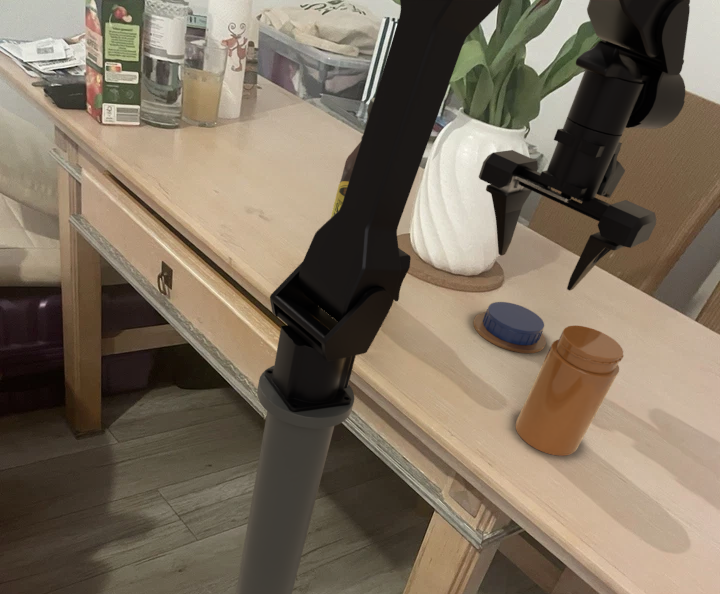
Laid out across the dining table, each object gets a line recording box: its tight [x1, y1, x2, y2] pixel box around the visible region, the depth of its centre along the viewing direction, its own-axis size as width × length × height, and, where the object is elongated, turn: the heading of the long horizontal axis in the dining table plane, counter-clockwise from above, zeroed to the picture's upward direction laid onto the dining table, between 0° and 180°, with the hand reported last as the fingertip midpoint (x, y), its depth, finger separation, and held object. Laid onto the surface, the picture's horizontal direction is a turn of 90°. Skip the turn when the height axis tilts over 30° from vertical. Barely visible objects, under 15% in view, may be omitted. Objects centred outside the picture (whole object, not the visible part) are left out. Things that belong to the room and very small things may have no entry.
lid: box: [483, 301, 545, 345], centre depth 83 cm, size 7×7×2 cm
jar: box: [515, 325, 625, 456], centre depth 65 cm, size 6×6×11 cm
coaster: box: [473, 311, 547, 354], centre depth 84 cm, size 9×9×1 cm
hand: (535, 271), depth 79 cm, fingers open, 9 cm apart
